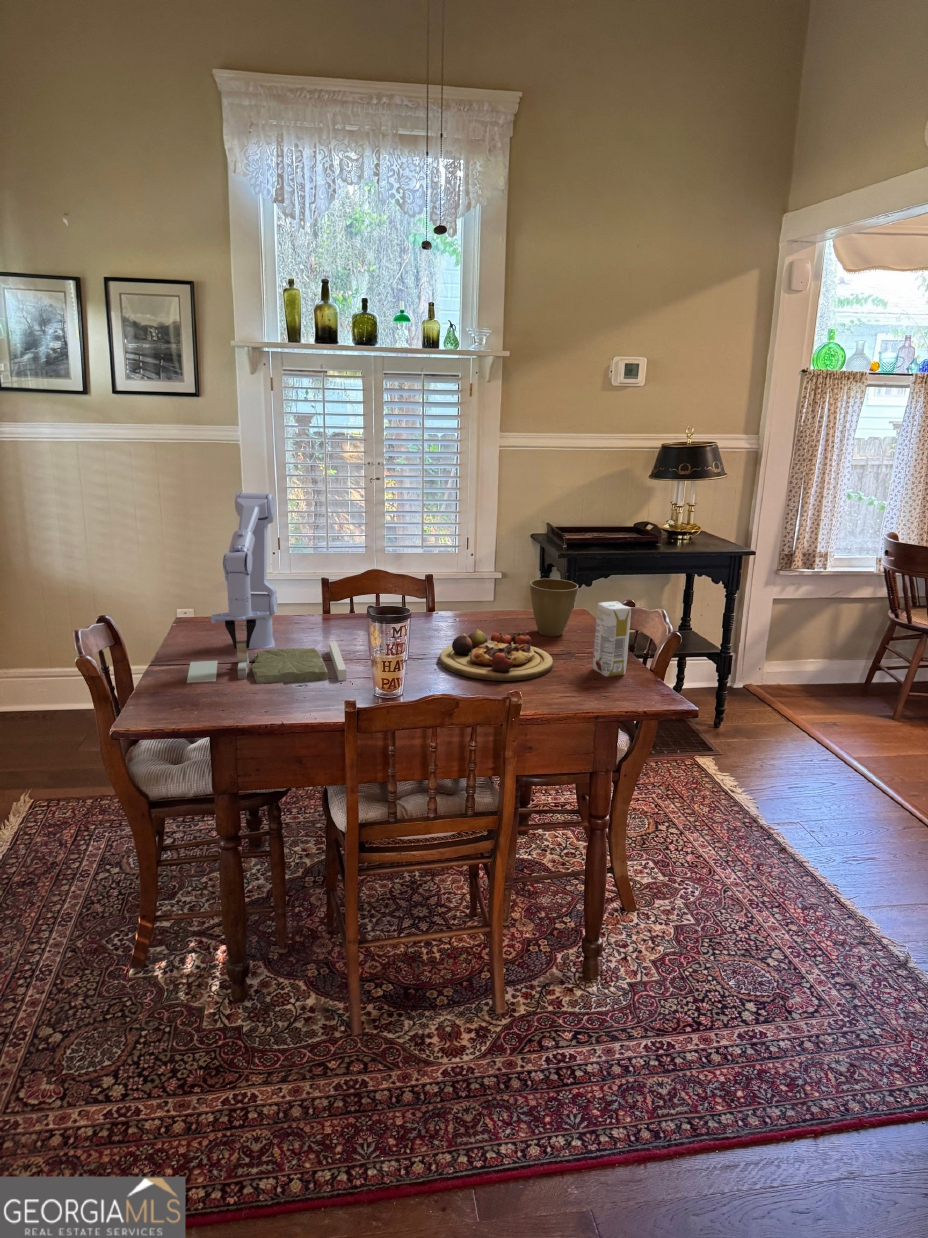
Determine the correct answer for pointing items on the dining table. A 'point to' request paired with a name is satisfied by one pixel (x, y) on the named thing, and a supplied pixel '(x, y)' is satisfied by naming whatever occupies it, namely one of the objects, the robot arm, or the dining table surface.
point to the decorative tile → (289, 666)
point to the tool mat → (202, 671)
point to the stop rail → (337, 661)
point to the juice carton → (611, 638)
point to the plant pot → (552, 604)
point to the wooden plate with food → (495, 657)
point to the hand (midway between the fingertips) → (241, 647)
